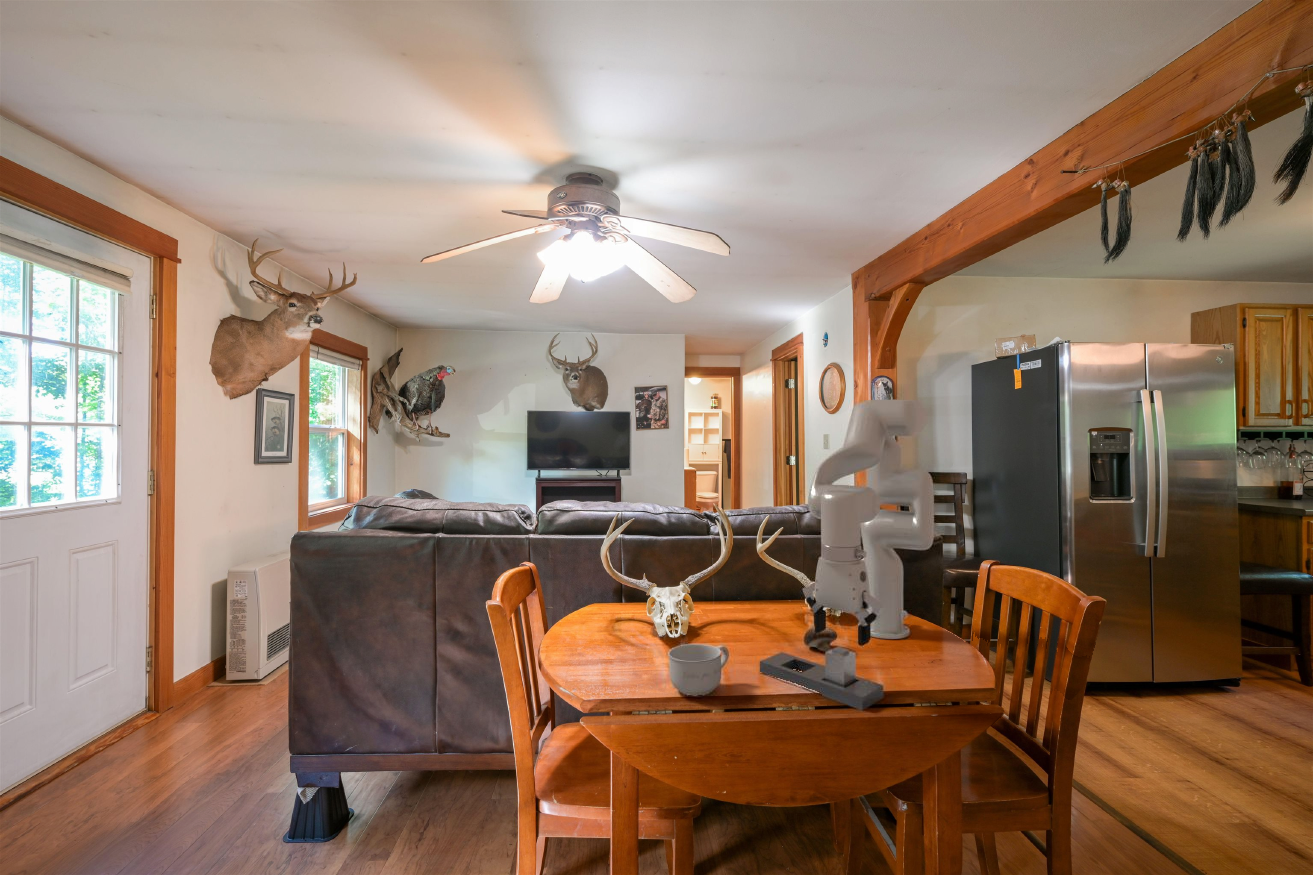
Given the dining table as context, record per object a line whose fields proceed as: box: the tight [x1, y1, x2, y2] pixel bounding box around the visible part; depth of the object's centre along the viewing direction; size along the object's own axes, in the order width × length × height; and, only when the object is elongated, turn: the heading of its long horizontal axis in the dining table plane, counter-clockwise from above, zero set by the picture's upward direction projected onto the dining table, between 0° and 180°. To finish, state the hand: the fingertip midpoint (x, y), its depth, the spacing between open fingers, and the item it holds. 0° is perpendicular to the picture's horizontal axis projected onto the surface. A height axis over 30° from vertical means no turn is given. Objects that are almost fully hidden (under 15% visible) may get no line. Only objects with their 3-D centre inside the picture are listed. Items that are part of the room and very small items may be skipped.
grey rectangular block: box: [824, 646, 857, 688], centre depth 121 cm, size 4×4×9 cm
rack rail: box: [759, 651, 884, 711], centre depth 125 cm, size 24×8×2 cm, turn 42°
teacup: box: [667, 643, 730, 696], centre depth 123 cm, size 14×11×8 cm
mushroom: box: [803, 625, 838, 653], centre depth 145 cm, size 8×8×6 cm
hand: (841, 637), depth 122 cm, fingers open, 9 cm apart
